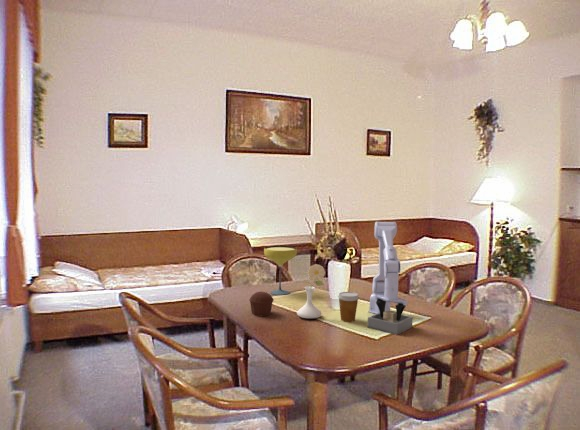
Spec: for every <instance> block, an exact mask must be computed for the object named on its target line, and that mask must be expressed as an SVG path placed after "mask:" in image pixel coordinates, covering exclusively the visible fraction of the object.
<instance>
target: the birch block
mask: <svg viewBox="0 0 580 430" xmlns="http://www.w3.org/2000/svg"><path fill="white" fill-rule="evenodd" d="M396 315H397V312H396V311H395V310H391V309H390V310H387V311H385V312H383V320H385V321H389V322H393V323H398V321H397V320H396Z"/></svg>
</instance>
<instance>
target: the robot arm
mask: <svg viewBox="0 0 580 430" xmlns="http://www.w3.org/2000/svg"><path fill="white" fill-rule="evenodd" d="M397 232H398V224H397V222H396V221H375V222H374V239H375V240H378V273H377V274H376V275H375V276H373V278H372V284H371V285H372V293H371V295H370V297H369V311H368V313H371V314H374V315H375V314H377V313H380V316H381V317H383V312H385V311H387V310H391V303H394V304H395V309H396V312H397V315H396V320H397V321H399V320H400V318H401V315H403V312H404V311H405V310H404V309H405V308H406V306H407V305H408V299H405V298H404V299H403V298H401V297H399V278H400V277H399V274H400V273H401V261H400V259H399V257H398V254H397V253H398V251H397V248H396V247H395V246H394V239H395V237H396V235H397Z"/></svg>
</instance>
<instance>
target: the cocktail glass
mask: <svg viewBox="0 0 580 430" xmlns="http://www.w3.org/2000/svg"><path fill="white" fill-rule="evenodd" d="M297 252H298V250H297V247H293V246H288V245H287V246H286V245H271V246H266V247H264V249H263V254H264V256H265V257H266V258H267V259H269V260H270V261H273V262H274V263H276V265H277V267H279V280H278V281H279V282H278V285H279V286H278V289H275V290H271V291H270V292H269V294H270V295H275V296H286V295H289V294H290V291H289V290H286V289H282V285H281V284H282V283H281V282H282V281H281V280H282V279H281V277H282V275H281V273H282V267H283V265H284V264H285V263H286V262H289V261H291V260H292V259H294V258H295V257H296V256H297V254H298V253H297Z"/></svg>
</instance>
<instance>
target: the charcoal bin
mask: <svg viewBox="0 0 580 430" xmlns="http://www.w3.org/2000/svg"><path fill="white" fill-rule="evenodd" d="M413 318H414V317H413V316H410V315H406V314H405V315H404V314H402V315H401V318H400V320H399V321H398V323H393V322H389V321H385V320H383V317H381V316H380V313H377V314H375V313H374V314H373V315H370V316H368V317H367V328H368V329H371V330H375V331H379V332H384V333H388V334H392V335H396V336H397V335H400V334H402V333H403V332H406V331H407V330H409V329H411V328H413Z"/></svg>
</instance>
